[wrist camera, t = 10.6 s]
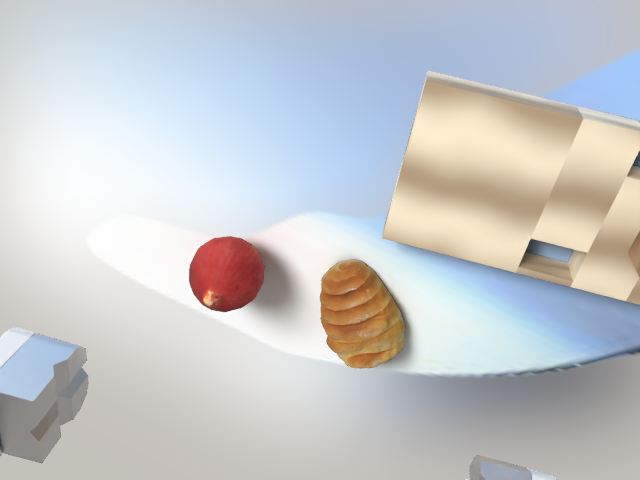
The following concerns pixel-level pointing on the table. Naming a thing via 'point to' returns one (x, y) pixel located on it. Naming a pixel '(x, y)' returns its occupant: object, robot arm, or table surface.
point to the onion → (226, 273)
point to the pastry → (360, 315)
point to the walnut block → (635, 253)
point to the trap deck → (520, 185)
